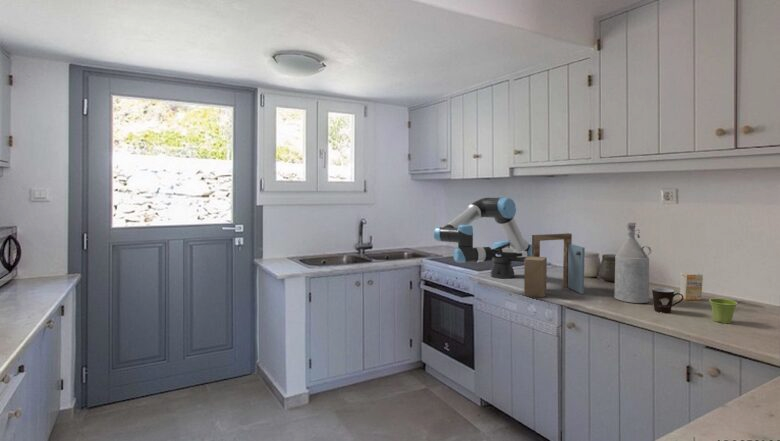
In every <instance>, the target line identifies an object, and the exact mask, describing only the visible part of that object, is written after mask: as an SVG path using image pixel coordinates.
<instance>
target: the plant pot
mask: <svg viewBox="0 0 780 441" xmlns="http://www.w3.org/2000/svg"><path fill="white" fill-rule="evenodd" d="M708 301H709V302H710V305H711V312H712V321H714V322H716V323H718V322H719V323H721V324H731V323H733V322H732V321H733V316H734V312H735V308H736V306H737V305H738V302H737V301H735V300H731V299H727V298H710V299H708Z"/></svg>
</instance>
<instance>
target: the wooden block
mask: <svg viewBox="0 0 780 441" xmlns="http://www.w3.org/2000/svg"><path fill="white" fill-rule="evenodd" d="M547 263H548V260H547V257H546V256H545V257H544V256H540V257H531V256H528V257H527V258H525V260H524V263H523V264H524V265H523V266H524V268H523V269H524V276H523V277H524V280H523V281H524V283H523V284H524V286H523V288H524V289H523V291H524V292H523V293H524V295H523V296H525V297H526V296H527V297H536V298H544V297H545V296H546V294H547V272H548V271H547V270H548V269H547V266H548V265H547Z"/></svg>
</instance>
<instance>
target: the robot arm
mask: <svg viewBox="0 0 780 441" xmlns="http://www.w3.org/2000/svg"><path fill="white" fill-rule="evenodd" d="M516 213H517V208H516V203H515V201H514V200H513V199H512V198H510V197H506V196H505V197H483V198H479V199H477V200H475V201H473V202H472V203H471V204H469V205H468V206H467V207H466V209H465V210H464V211H462V213H459V215H457V216H456V217H455V218H453V219H452V220H451V221H450V222H448V223H447V224H445V225H444V226H439V227H436V228H434V230H433V238H434V240H435V241H438V242H444V243H456V244H458V245H457V247H456V248H454V250H453V254H452V256H453V257H452V258H453V260H454V262H456V264H458V263H459V264H466V263H477V264H479V262H480V263H481V262H491V261H492V260H493V261H492V262H493V263H492V264H493V265H492V267H491V270H490V277H491V278H495V277H497V279H511V278H515V270H514V268H513V262H516V263H523V264H524V260H525V258H527V257H528V256H531V257H532V243H531V244H529V241H528V240H527V239H526V238H524V237H523V234H522V232H521V230H520V228H519V226H518V224H517V222H516V220H515V216H516ZM481 218H489V219H490V218H491V219H492V218H493V219H494V220H495V223H497V224H499V225H500V227H501V229H502V230H503V232H504V234H505V236H506V239H507V240H501V241H500V240H499V241H496V242H493V246H492V247H493V248H491V246H483V247H482V246H479V247H478V246H477V247H476V246H475V247H474V230H473V229H474V228H473V225H471V224H472V222H474V221H477V220H479V219H481Z"/></svg>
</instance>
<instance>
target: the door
mask: <svg viewBox="0 0 780 441" xmlns="http://www.w3.org/2000/svg"><path fill="white" fill-rule="evenodd" d="M585 248H586V247H584V246H580V245H577V244H573V243H572V244H568V287H569V289H571V290H573V291H575V292H577V293H579V294H580V295H584V294H585V252H586V251H585Z"/></svg>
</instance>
